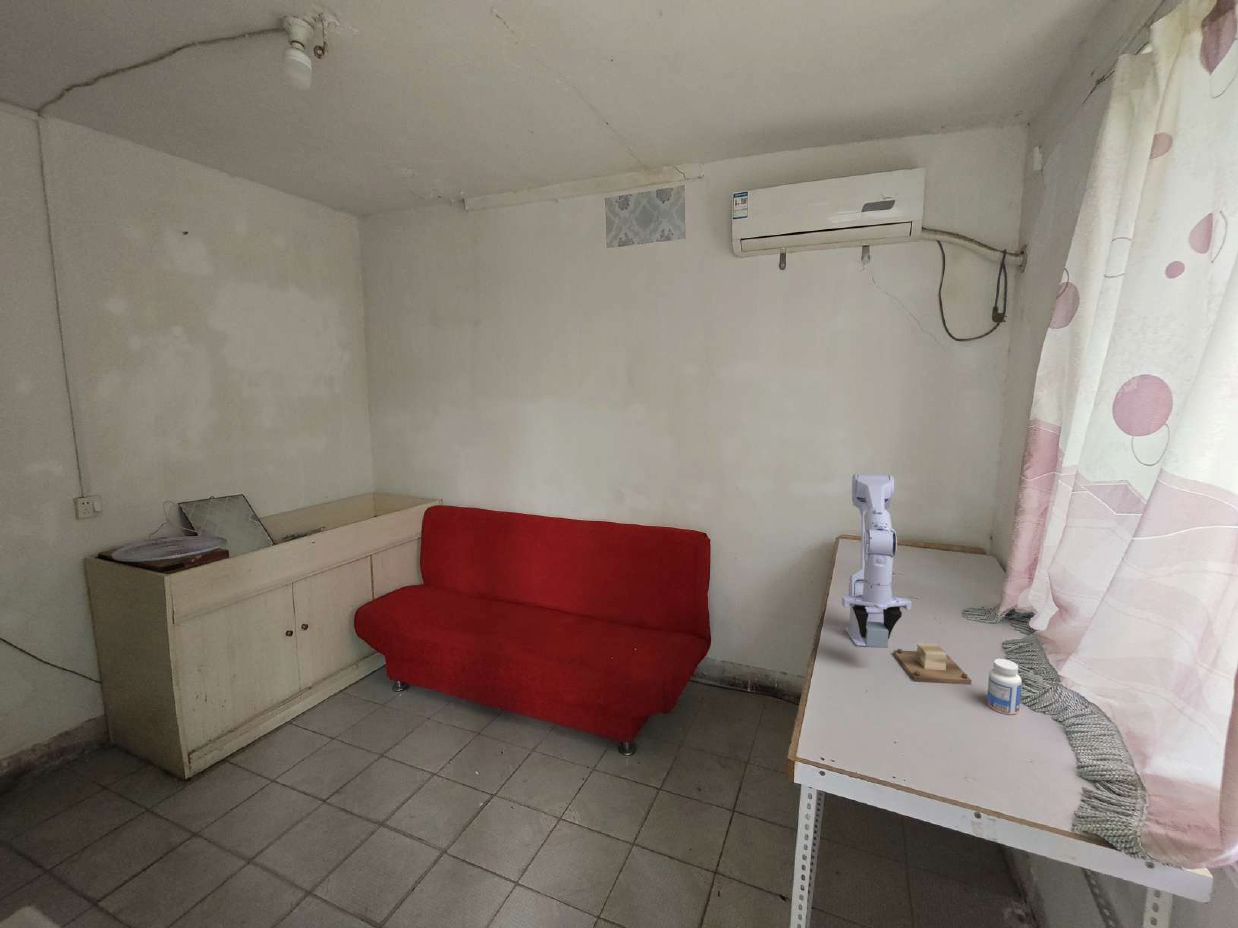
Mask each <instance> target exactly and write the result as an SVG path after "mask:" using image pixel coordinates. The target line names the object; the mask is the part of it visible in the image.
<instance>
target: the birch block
mask: <svg viewBox="0 0 1238 928" xmlns="http://www.w3.org/2000/svg"><path fill="white" fill-rule="evenodd" d="M916 646H917V647H916V651H917V656H916V659H917V660H918V662H919V663H920V664H921V665H922V667H923V668H924V669H930V670H946V658H947V655H948V654H947V652H946V651H945V650H943V648H942V647H940V645H939V644H935V643H933V644H932V643H917V645H916ZM944 651H945V652H946V653H945V652H944Z"/></svg>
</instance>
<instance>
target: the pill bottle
mask: <svg viewBox="0 0 1238 928" xmlns="http://www.w3.org/2000/svg"><path fill="white" fill-rule="evenodd" d="M1018 673H1019V666H1018V664H1017V663H1016V662H1013V661H1012V660H1009V659H1006V658H996V659H995V660H994V661H993V668H992V669H990V670H989V673H988V682H987V696H986V703H987V705H988V706H989V707H990V708H991V709H993V710H994V711H996V712H998V713H1001V714H1004V715H1017V714H1018V713H1019V712H1020V705H1021V695H1022V682H1023V680H1022V678H1021V676H1020V675H1019V674H1018Z"/></svg>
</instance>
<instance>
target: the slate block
mask: <svg viewBox="0 0 1238 928" xmlns="http://www.w3.org/2000/svg"><path fill="white" fill-rule="evenodd" d="M888 632H889V631H888V630H887V628H886V627H885V626H884V624H883V623H882V622H868V621H867V624H866V637H865V638H862V636H861V638H862V640H863V641H864V643H865V644H866V646H865V647H870V648H871V647H872V648H875V647H876V648H889V639H888Z"/></svg>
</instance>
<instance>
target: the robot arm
mask: <svg viewBox="0 0 1238 928" xmlns="http://www.w3.org/2000/svg"><path fill="white" fill-rule="evenodd" d="M894 493H895V478H894V476H892V475H891V474H888V475H887V474H865V473H864V474H863V473H861V474H860V473H854V474H852V478H851V501H852V506H854V507H856V508H857V509H859V512H860V516H861V533H860V534H861V535H860V537H861V540H860V543H861V546H860V547H861V549H860V550H861V551H860V569H858V570H857V571H855V572H853V573H852V574H851V575H850V577H849V583H848V596H846V595H845V596H844V595H843V596H842V599H841V604H842V606H843V608H849V623H848V624H849V625H848V627H847V626H846V627H845V631H846V632H847V634H848V635H849V638H850V639H851V640H852V642H853V643H854V645H855V646H858V647H867V646H866V644H865V643H864V641H863V640H862V638H865V637H866V624H867V621H868V622H882V623H883V624H884V626H885V627H886V628H887V630H888V631H889V632H888V640H889V639H890V637H891V634H892V631H893V629H894V627H895V625H896V624H897V622H898V621H899V620H900V619H901V618H902V617H903V616H902V614H903V612H902V611H901V609H904V610H906V611H911V610H912V601H911V600H910V599H909V598H903V597H895V596H893V593H892V578H893V563H894V558H895V557H896V554H897V551H898V538H897V532H896V530H895V529H894V528H893V526H892V519H891V514H890V513H889V511H888V510H886V509H889V508H890V505H891V504H892V500H893V496H894ZM861 636H862V638H861Z"/></svg>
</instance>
